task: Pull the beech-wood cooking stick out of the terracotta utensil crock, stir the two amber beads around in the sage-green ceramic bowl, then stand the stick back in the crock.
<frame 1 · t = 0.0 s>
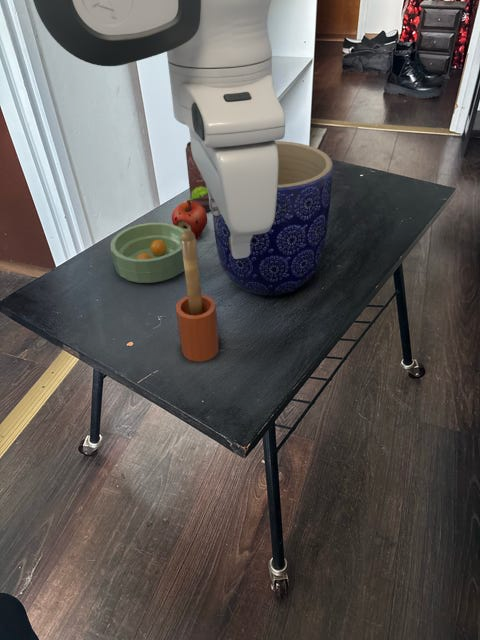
hand: (228, 232, 51), 22 cm above the table, tool pointing down, fingers open, 8 cm apart
crock: (200, 348, 70), on the table
stick: (200, 345, 69), point 1 cm above the table, touching crock
bead b: (144, 261, 85), point 2 cm above the table, touching bowl
planter: (269, 277, 84), on the table
bead a: (158, 247, 88), point 2 cm above the table, touching bowl
bowl: (153, 264, 88), on the table
can: (206, 207, 105), on the table
apple: (193, 237, 95), on the table
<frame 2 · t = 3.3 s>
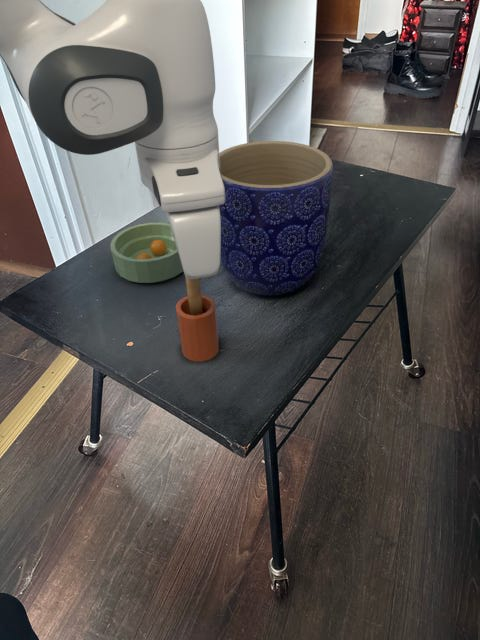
hand: (191, 268, 61), 14 cm above the table, tool pointing down, fingers closed on stick, 2 cm apart
stick: (200, 345, 69), point 1 cm above the table, touching crock, gripper
everything else where it was.
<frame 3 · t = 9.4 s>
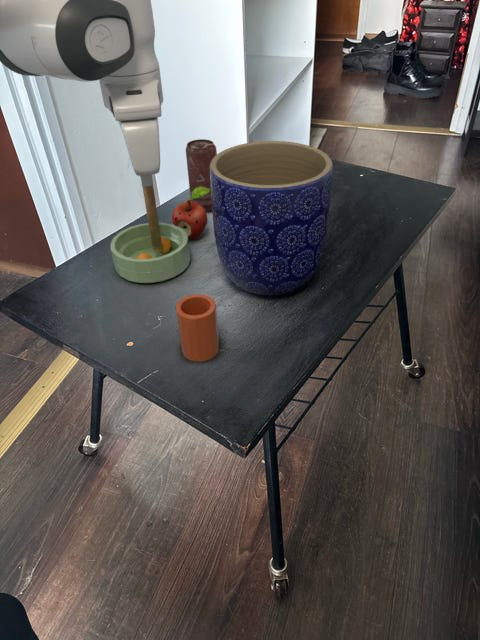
hand: (146, 180, 79), 16 cm above the table, tool pointing down, fingers closed on stick, 2 cm apart
stick: (158, 252, 87), point 2 cm above the table, touching bead a, gripper
bead a: (163, 245, 89), point 2 cm above the table, tilted 45°, touching bowl, stick
everything else where it was.
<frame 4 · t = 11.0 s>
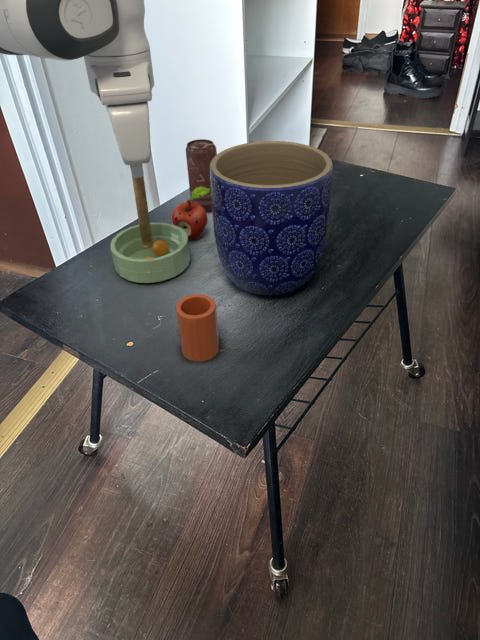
hand: (136, 172, 74), 19 cm above the table, tool pointing down, fingers closed on stick
stick: (147, 247, 83), point 5 cm above the table, touching gripper
bead b: (150, 265, 84), point 2 cm above the table, tilted 62°, touching bowl
bead a: (160, 248, 88), point 2 cm above the table, tilted 15°, touching bowl
everything else where it was.
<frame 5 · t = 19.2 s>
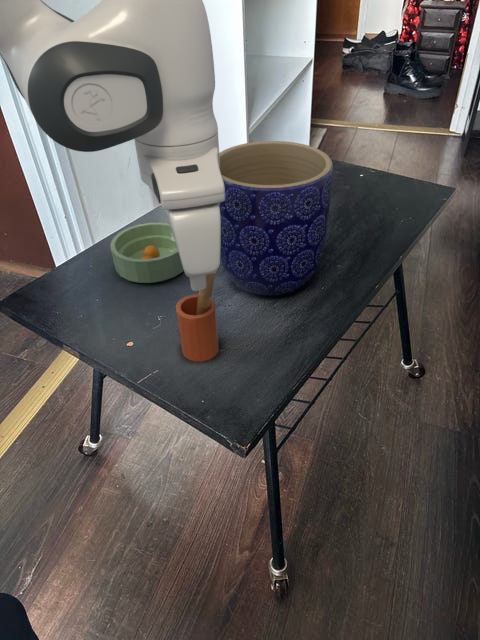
hand: (191, 266, 61), 14 cm above the table, tool pointing down, fingers open, 8 cm apart
stick: (199, 345, 69), point 1 cm above the table, tilted 10°, touching crock
bead b: (147, 264, 84), point 2 cm above the table, tilted 42°, touching bowl
bead a: (151, 253, 87), point 2 cm above the table, tilted 82°, touching bowl
everything else where it was.
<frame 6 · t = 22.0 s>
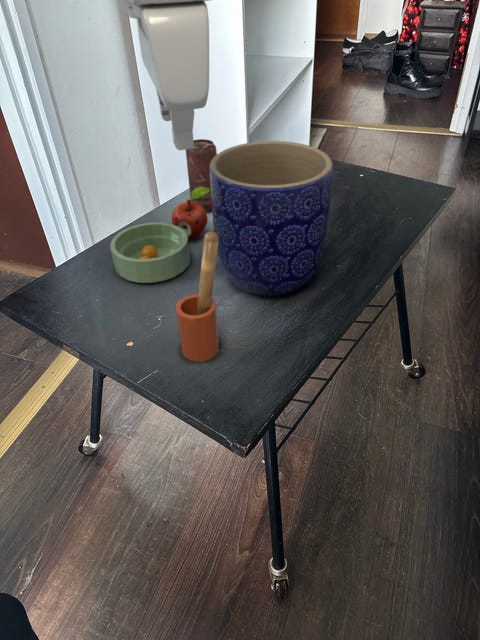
hand: (176, 132, 50), 31 cm above the table, tool pointing down, fingers open, 8 cm apart
at the end: bead a moved 2.3 cm from its start; bead a 0.6 cm from the bowl (horizontally); stick 0.1 cm off-centre in the crock, point 0.6 cm above the crock's base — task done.
